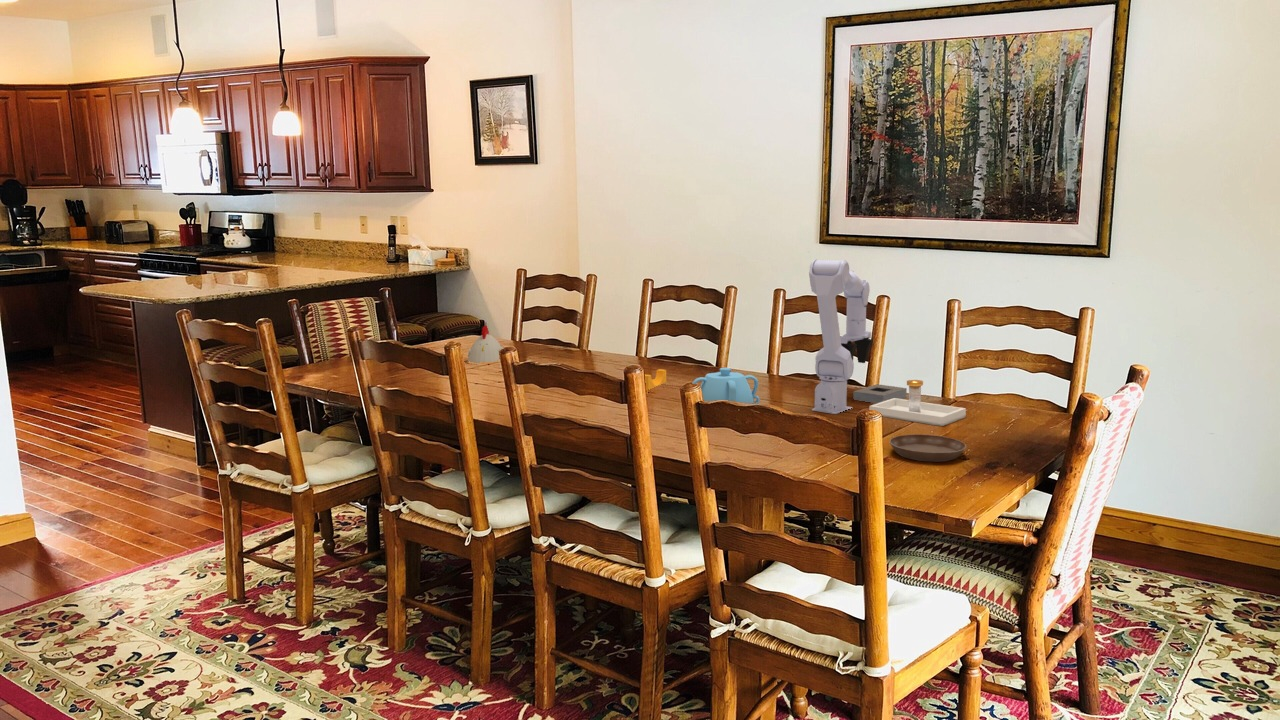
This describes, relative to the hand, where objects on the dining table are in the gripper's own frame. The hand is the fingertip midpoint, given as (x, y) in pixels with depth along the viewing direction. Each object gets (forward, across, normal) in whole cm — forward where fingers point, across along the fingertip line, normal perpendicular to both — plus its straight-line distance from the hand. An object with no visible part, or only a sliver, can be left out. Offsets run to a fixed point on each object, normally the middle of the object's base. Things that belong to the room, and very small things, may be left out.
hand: (855, 364), depth 302 cm
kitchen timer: (+11, -35, +134) cm, 139 cm away
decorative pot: (+11, -43, +16) cm, 47 cm away
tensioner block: (+10, +3, -7) cm, 13 cm away
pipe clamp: (+11, -32, +54) cm, 64 cm away
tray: (+10, -10, -26) cm, 30 cm away
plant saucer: (+11, -45, -47) cm, 66 cm away
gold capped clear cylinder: (+10, -9, -25) cm, 28 cm away
